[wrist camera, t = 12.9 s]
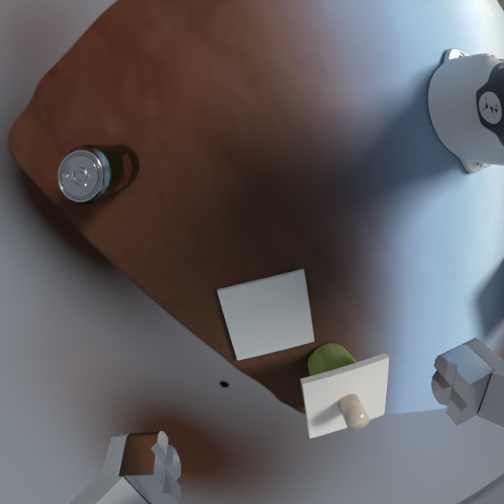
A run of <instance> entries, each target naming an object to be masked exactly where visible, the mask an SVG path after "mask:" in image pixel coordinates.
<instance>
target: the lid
mask: <svg viewBox="0 0 504 504" xmlns="http://www.w3.org/2000/svg"><path fill="white" fill-rule="evenodd" d="M388 364H389V357H388V356H387V354H386V353H384V354H381V355H378V356H375V357H372V358H369V359H366V360H363V361H360V362H357V363H354V364H351V365H348V366H344V367H341V368H338V369H334V370H331V371H328V372H324V373H321V374H317V375H313V376H310V377H306V378H302V379H300V380H301V387H302V394H303V400H304V407H305V414H306V421H307V427H308V434H309V437H310V438H314V437H317V436H321V435H324V434H327V433H331V432H334V431H338V430H341V429H344V428H347V427H348V429H349V430H351V431H357V430H360V429H362V428H363V427H365V426H366V425H367V424H368V422H369V420H370V419H373V418H376V417H379V416H381V415H384V411H385V401H386V391H387V378H388Z"/></svg>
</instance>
